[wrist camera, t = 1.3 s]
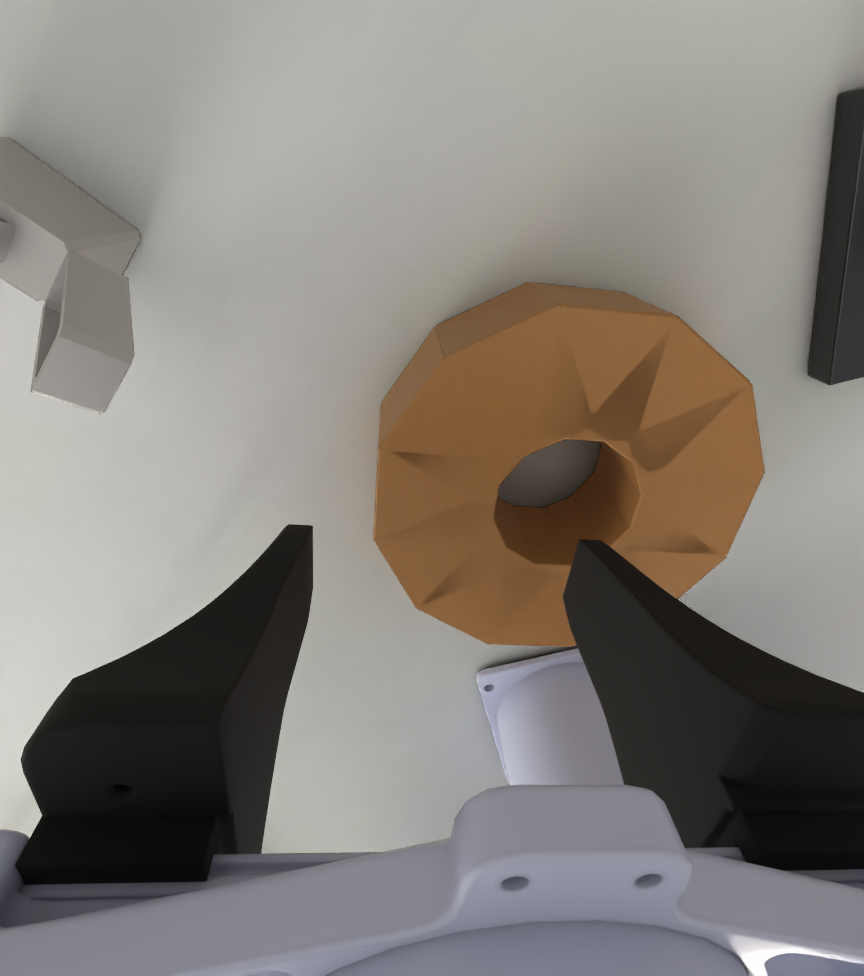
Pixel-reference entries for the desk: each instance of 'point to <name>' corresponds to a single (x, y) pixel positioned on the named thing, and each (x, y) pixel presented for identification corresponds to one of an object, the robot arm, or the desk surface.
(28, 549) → the desk surface
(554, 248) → the desk surface
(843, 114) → the stand
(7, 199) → the lighter
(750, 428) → the tape roll
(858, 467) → the desk surface
